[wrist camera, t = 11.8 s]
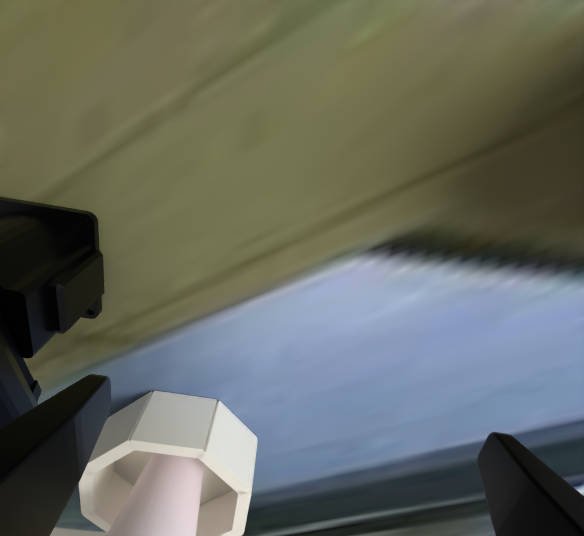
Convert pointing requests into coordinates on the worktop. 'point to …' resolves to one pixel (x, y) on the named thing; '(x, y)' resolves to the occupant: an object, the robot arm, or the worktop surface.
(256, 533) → the worktop surface
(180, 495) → the smoothie
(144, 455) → the bowl
